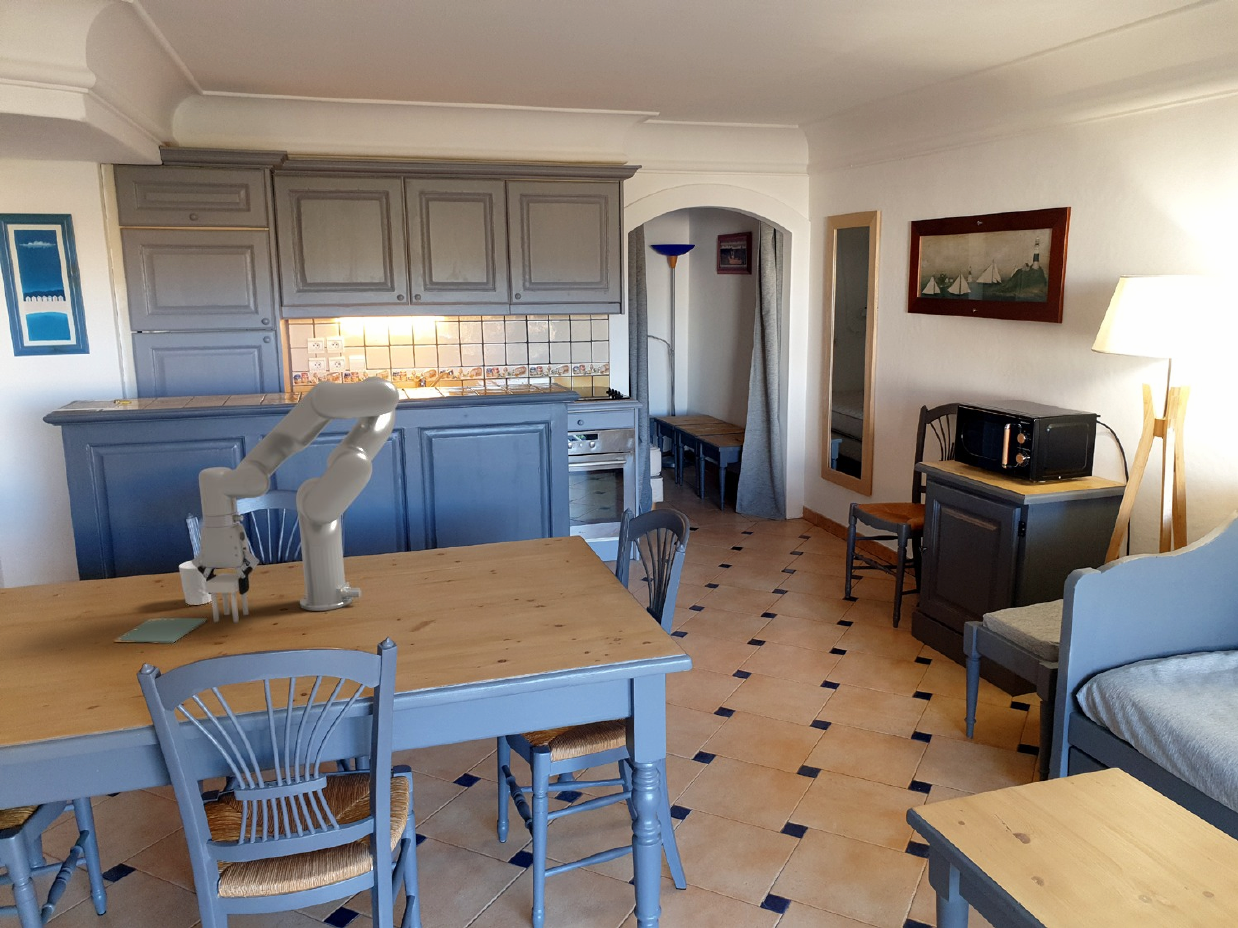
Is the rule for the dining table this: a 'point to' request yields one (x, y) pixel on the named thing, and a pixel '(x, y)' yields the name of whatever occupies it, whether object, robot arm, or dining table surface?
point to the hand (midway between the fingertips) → (228, 591)
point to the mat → (162, 630)
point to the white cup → (193, 584)
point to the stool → (226, 594)
